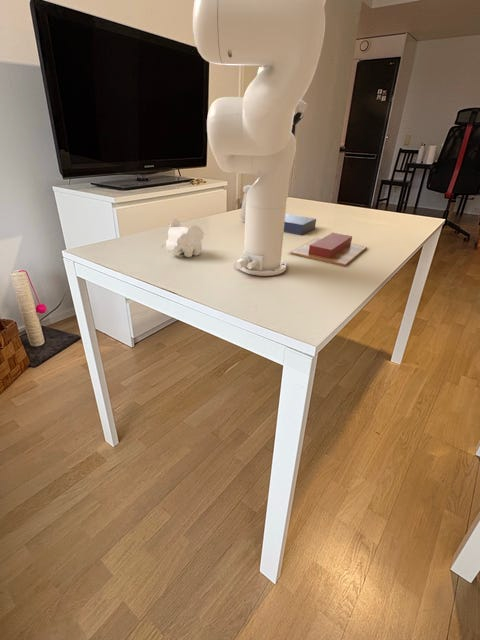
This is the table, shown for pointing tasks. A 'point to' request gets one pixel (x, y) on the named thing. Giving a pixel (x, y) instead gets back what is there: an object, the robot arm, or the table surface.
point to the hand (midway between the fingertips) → (272, 142)
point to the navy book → (298, 224)
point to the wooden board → (339, 258)
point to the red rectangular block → (330, 245)
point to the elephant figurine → (184, 239)
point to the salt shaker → (244, 203)
